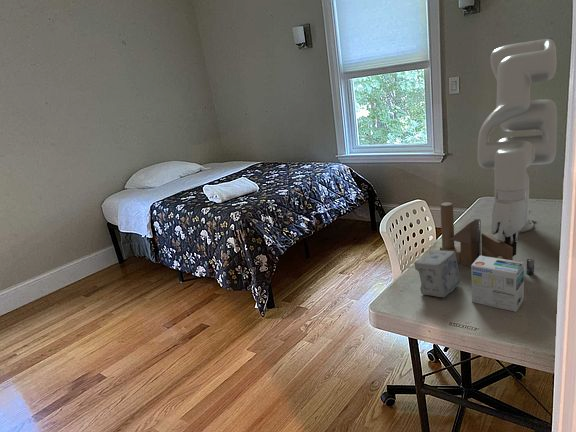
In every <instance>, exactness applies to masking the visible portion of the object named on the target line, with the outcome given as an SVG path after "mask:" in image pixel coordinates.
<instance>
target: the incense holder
mask: <svg viewBox="0 0 576 432" xmlns="http://www.w3.org/2000/svg"><path fill="white" fill-rule="evenodd" d="M414 269H415V271H417V272H418V275H419V279H420V287H419V289H420V293H421V295H424V296H432V297H438V298H446V297H447V296H448V295H449V294H452V293H453V291H454V290H455V288H456V287H457V286H459V285H460V284H461V276H460V270H459V265H458V262H457V259H456V253H455V252H454V251H440V249H439V250H433V249H432V250H430V251H429V254H428V255H426V256H425V257H424V258H422V259H420V260H416V261H415V262H414Z"/></svg>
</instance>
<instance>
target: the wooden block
mask: <svg viewBox="0 0 576 432" xmlns="http://www.w3.org/2000/svg"><path fill="white" fill-rule="evenodd" d="M475 219H476V220H474V219H473V220H472V221H470V222H469V223H468V224H466V225H465V226H464V227H463V228H461V229H460V230H458V232H457V233H456V234H455V225H454V224H455V222H454V204H453V203H452V202H449V201H445V202H442V203H440V222H441V224H440V225H441V227H440V228H441V246H440V247H439V251H454V252H455V253H456V259H457V264H458V263H459V264H461V265H465V266H468V267H471V265H472V264H473V263H474V262H475V260H476V259H477V258H478V254H477V219H478V218H475ZM455 242H457V243H460V246H455Z"/></svg>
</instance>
